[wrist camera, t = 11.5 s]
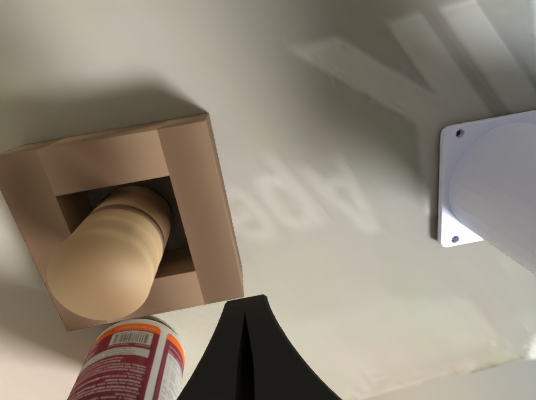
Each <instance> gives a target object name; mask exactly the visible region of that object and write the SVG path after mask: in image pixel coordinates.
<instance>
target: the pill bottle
mask: <svg viewBox="0 0 536 400" xmlns="http://www.w3.org/2000/svg"><path fill="white" fill-rule="evenodd" d="M184 362H185V351H184V347H183V344H182V342H181V340H180V339H179V337H178V336H177V335H176V333H174V332H173V331H172V330H171V329H170V328H168V327H167V326H165V325H163V324H161V323H159V322H156V321H153V320H148V319H131V320H125V321H122V322H119V323H116V324H114V325H112V326H110V327H109V328H107V329H106V330H104V331H103V332H102V333H101V334H100V335H99V336H98V338H97V339H96V341H95V342H94V344H93V346H92V348H91V350H90V352H89V354H88V356H87V359H86V361H85V363H84V365H83V367H82V369H81V371H80V373H79V376H78V378H77V380H76V382H75V384H74V386H73V388H72V391H71V393H70V395H69V397H68V399H67V400H176V399H177V398H178V396H179V395H180V390H181V383H182V377H183V370H184Z"/></svg>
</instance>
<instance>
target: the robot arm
mask: <svg viewBox="0 0 536 400" xmlns="http://www.w3.org/2000/svg"><path fill="white" fill-rule="evenodd" d="M458 130H460V131H461V132H460V135H459V136H457V137H456V132H457V131H458ZM454 236H455V238H454V239H453V240H452V238H453V237H454ZM481 240H485V241H487V242H488V243H490V244H491V245H492V246H494V247H495V248H497V249H498V250H500V251H501V252H503V253H504V254H506V255H507V256H508V257H510V258H511V259H513V260H514V261H516V262H517V263H519V264H520V265H522V266H523V267H524V268H526V269H527V270H529V271H530V272H532V273H533V274H535V275H536V110H533V111H527V112H522V113H516V114H510V115H505V116H499V117H494V118H488V119H483V120H477V121H471V122H466V123H460V124H455V125H449V126H446V127H445V128H444V129H443V130H442V132H441V135H440V168H439V205H438V243H439V244H440V245H441V246H443V247H450V246H455V245H461V244H466V243H471V242H476V241H481ZM176 400H342V399H341V398H340V397H338V396H337V395H336V394H335V393H334V392H333V391H332V390H331V389H330V388H329V387H328V386H327V385H326V384H325V383H324V382H323V381H322V380H321V379H320V378H319V377H318V376H317V375H316V374H315V372H314V371H313V370H312V369H311V368H310V367H309V366H308V364H307V363H306V362H305V361H304V360H303V358H302V357H301V356H300V355H299V353H298V352H297V351H296V349H295V348H294V347H293V345H292V344H291V342H290V341H289V339H288V338H287V336H286V335H285V333H284V332H283V330H282V329H281V327H280V325H279V324H278V322H277V320H276V318H275V316H274V314H273V312H272V310H271V308H270V305H269V303H268V299H267V296H265V295H258V296H252V297H247V298H242V299H236V300H231V301H227V302H226V304H225V306H224V309H223V312H222V314H221V317H220V320H219V322H218V324H217V327H216V329H215V331H214V334H213V336H212V338H211V340H210V342H209V344H208V346H207V348H206V350H205V352H204V354H203V356H202V358H201V360H200V362H199V363H198V365H197V367H196V369H195V371H194V372H193V374H192V376H191V378H190V379H189V381H188V382H187V384H186V386H185V387H184V389H183V390H182V392H181V393H180V395H179V396H178V398H177V399H176Z"/></svg>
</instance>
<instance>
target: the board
mask: <svg viewBox="0 0 536 400" xmlns="http://www.w3.org/2000/svg"><path fill="white" fill-rule="evenodd" d="M164 176H170V179H171V183H172V187H173V190H174V194H175V198H176V201H177V205H178V209H179V212H180V216H181V220H182V223H183V227H184V230H185V234H186V238H187V241H188V245H189V247H185V248H180V249H175V250H169V251H164V253H163V256H162V259H161V261H160V264H159V266H158V269H157V272H156V275H155V278H154V281H153V283H152V286H151V289H150V292H149V295H148V297H147V299H146V300H145V302H144V303H143V304H142V305H141V307H139V308H138V309H137V310H136V311H134V312H133V313H131V314H129V315H127V316H125V317H122V318H118V319H113V320H94V319H89V318H85V317H82V316H79V315H77V314H75V313H73V312H71V311H69V310H68V309H67V308H65V307H64V306H63V305H62V304H60V303H59V301H58V300H57V299H56V298H55V297H54V295H53V294H52V292H51V290H50V288H49V285H48V281H47V267H48V263H49V261H50V259H51V257H52V255H53V254H54V253H55V251H56V250H57V249H58V248H59V247H60V246H61V245H62V244H63V243H64V242H65V240H66V239H67V238H68V237H69V236H70V235H71V234H72V233H73V232H74V231H75V230H76V229H77V228H78V226H79V225H80V224H81V223H82V222H83V220H84V219H85V218H86V217H87V216H88V215H89V214H90V213H91V212H92V208H91V206H90V203H89V200H88V198H87V195H86V192H85V191H87V190H92V189H98V188H103V187H109V186H114V185H120V184H125V183H131V182H137V181H142V180H148V179H153V178H159V177H164ZM0 189H1V191H2V194H3V196H4V198H5V200H6V202H7V204H8V206H9V208H10V211H11V213H12V215H13V217H14V219H15V221H16V223H17V225H18V228H19V230H20V232H21V234H22V236H23V238H24V240H25V243H26V245H27V247H28V249H29V251H30V253H31V255H32V257H33V260H34V262H35V264H36V266H37V268H38V270H39V272H40V274H41V277H42V279H43V281H44V283H45V285H46V287H47V289H48V291H49V294H50V296H51V298H52V300H53V302H54V304H55V306H56V308H57V311H58V313H59V315H60V317H61V319H62V321H63V323H64V326H65V328H66V330H67V331H71V330H77V329H82V328H87V327H92V326H97V325H102V324H107V323H113V322H118V321H123V320H128V319H133V318H138V317H143V316H148V315H154V314H159V313H164V312H169V311H174V310H179V309H184V308H190V307H195V306H200V305H205V304H210V303H215V302H220V301H225V300H231V299H236V298H241V297H244V290H243V274H242V266H241V261H240V256H239V252H238V247H237V242H236V238H235V233H234V228H233V224H232V219H231V214H230V210H229V205H228V200H227V196H226V191H225V187H224V182H223V177H222V173H221V168H220V163H219V159H218V154H217V149H216V145H215V140H214V135H213V131H212V126H211V121H210V117H209V113H205V114H200V115H194V116H188V117H182V118H176V119H171V120H165V121H159V122H153V123H148V124H142V125H136V126H130V127H125V128H119V129H113V130H107V131H102V132H96V133H90V134H84V135H79V136H73V137H67V138H61V139H56V140H50V141H44V142H38V143H32V144H27V145H22V146H19V147H17V148H14V149H12V150H9V151H7V152H4V153H1V154H0Z"/></svg>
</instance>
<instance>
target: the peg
mask: <svg viewBox="0 0 536 400" xmlns="http://www.w3.org/2000/svg"><path fill="white" fill-rule="evenodd" d="M172 223H173V220H172V213H171V210H170V208H169V206H168V204H167V203H166V201H165V200H164V199H163V198H162V197H161V196H160V195H159V194H157V193H156V192H154V191H153V190H150V189H148V188H144V187H140V186H125V187H121V188H118V189H116V190H114V191H112V192H111V193H110V194H108V195H107V196H106V197H105V198H104V200H103V201H102V202H101V203H100V204H99V205H98V206H97V207H96V208H95V209H94V210H93V211H92V212H91V213H90V214H89V215H88V216H87V217H86V218H85V219H84V220H83V222H82V223H81V224H80V225H79V226H78V228H77V229H76V230H75V231H74V232H73V233H72V234H71V235H70V236H69V237H68V238H67V239H66V240H65V242H64V243H63V244H62V245H61V246H60V247H59V248H58V249H57V250H56V251H55V253H54V254H53V255H52V257H51V259H50V261H49V263H48V267H47V281H48V285H49V288H50V290H51V292H52V294H53V295H54V297H55V298H56V299H57V300H58V301H59V303H60V304H62V305H63V306H64V307H65V308H67V309H68V310H69V311H71V312H73V313H75V314H77V315H79V316H82V317H85V318H89V319H94V320H113V319H118V318H122V317H125V316H127V315H129V314H131V313H133V312H134V311H136V310H137V309H138V308H139V307H141V305H142V304H143V303H144V302H145V300H146V299H147V297H148V295H149V292H150V289H151V286H152V283H153V281H154V278H155V275H156V272H157V269H158V266H159V264H160V261H161V259H162V256H163V253H164V249H165V246H166V243H167V240H168V238H169V235H170V232H171V229H172Z"/></svg>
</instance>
